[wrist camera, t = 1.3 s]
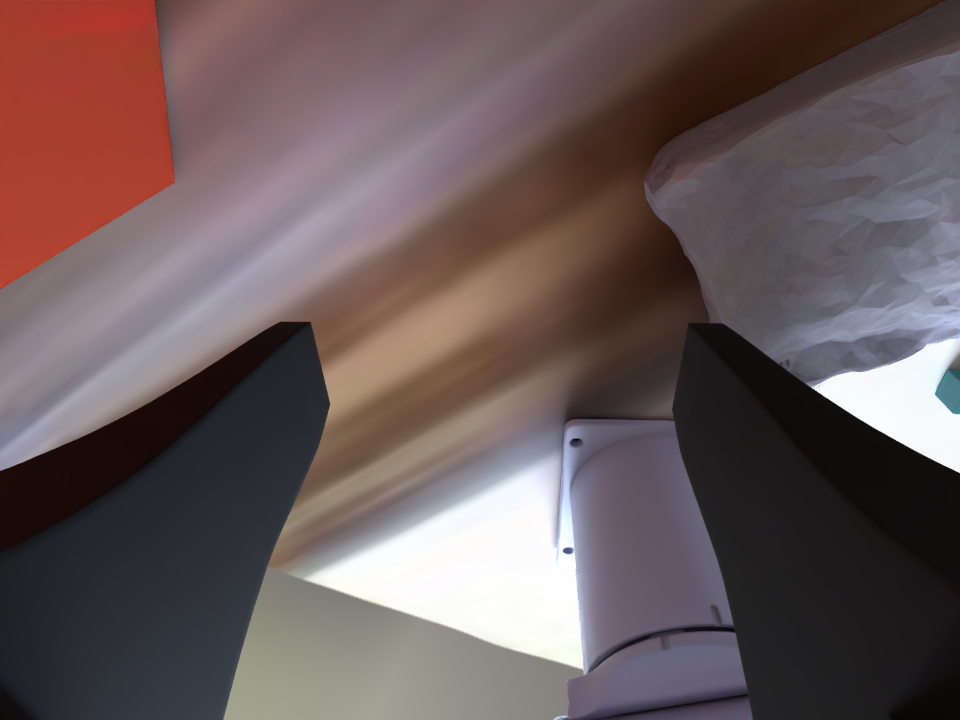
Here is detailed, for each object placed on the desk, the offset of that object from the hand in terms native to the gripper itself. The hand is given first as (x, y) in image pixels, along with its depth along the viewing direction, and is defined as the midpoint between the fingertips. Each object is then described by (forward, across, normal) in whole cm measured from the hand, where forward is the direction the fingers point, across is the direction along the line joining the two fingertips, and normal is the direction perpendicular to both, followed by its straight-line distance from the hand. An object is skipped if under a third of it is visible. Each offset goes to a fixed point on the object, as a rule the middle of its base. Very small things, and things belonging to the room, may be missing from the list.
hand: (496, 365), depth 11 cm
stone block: (+10, -11, 0) cm, 15 cm away
